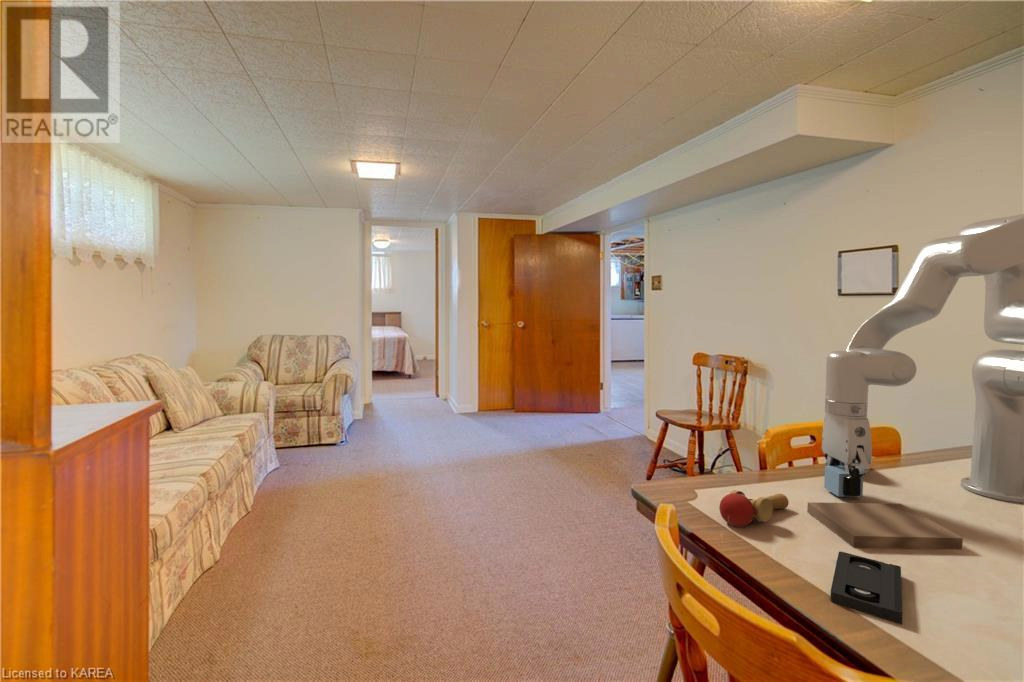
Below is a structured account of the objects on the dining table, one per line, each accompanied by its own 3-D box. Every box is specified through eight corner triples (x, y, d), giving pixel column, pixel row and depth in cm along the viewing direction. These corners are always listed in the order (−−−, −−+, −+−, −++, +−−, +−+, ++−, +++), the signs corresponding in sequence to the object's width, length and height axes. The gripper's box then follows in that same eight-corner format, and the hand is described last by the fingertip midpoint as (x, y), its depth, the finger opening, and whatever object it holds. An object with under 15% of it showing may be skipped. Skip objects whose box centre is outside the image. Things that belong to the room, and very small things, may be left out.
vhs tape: (838, 562, 79) (838, 550, 79) (900, 579, 74) (900, 566, 74) (829, 605, 68) (830, 591, 68) (901, 627, 63) (902, 613, 63)
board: (899, 513, 96) (900, 503, 96) (962, 549, 82) (962, 538, 82) (807, 512, 97) (807, 502, 97) (853, 547, 83) (853, 536, 83)
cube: (847, 487, 108) (848, 465, 107) (862, 496, 103) (863, 473, 102) (824, 487, 108) (824, 465, 107) (838, 496, 103) (839, 473, 102)
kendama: (758, 506, 103) (704, 513, 94) (767, 479, 102) (713, 484, 93) (793, 526, 97) (740, 537, 87) (803, 497, 96) (750, 505, 86)
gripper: (893, 417, 95) (889, 506, 97) (838, 400, 112) (836, 476, 114) (853, 418, 95) (850, 506, 97) (805, 400, 112) (803, 476, 114)
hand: (842, 489), depth 105 cm, fingers closed on cube, 5 cm apart
